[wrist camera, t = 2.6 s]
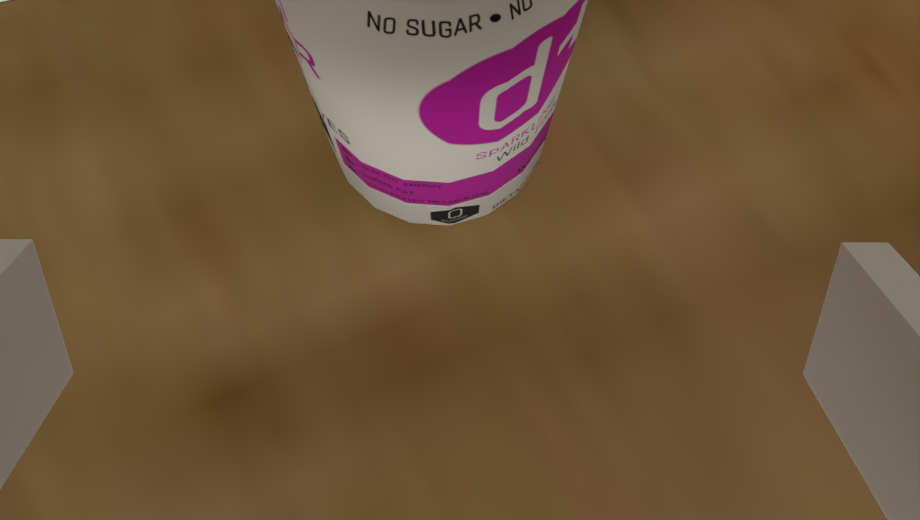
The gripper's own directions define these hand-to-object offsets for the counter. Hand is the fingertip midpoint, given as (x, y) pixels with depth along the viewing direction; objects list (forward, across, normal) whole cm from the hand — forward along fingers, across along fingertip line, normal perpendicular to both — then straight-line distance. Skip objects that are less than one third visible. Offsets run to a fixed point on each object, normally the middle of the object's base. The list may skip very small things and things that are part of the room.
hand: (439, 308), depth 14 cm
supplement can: (+18, 0, -4) cm, 19 cm away
